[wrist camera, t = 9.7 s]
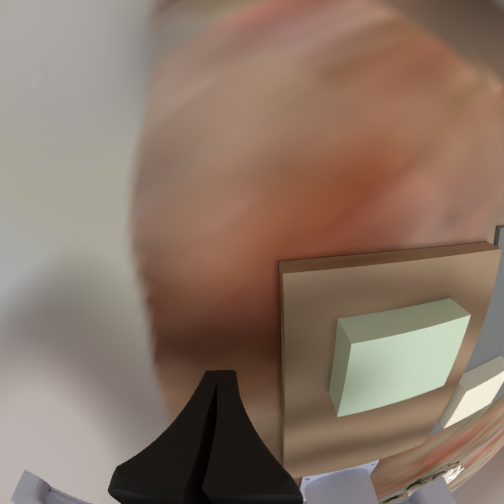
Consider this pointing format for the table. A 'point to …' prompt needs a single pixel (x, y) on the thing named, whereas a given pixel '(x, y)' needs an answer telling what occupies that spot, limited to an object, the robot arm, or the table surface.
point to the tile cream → (474, 391)
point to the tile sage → (394, 354)
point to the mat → (490, 326)
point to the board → (361, 303)
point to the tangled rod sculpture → (448, 476)
